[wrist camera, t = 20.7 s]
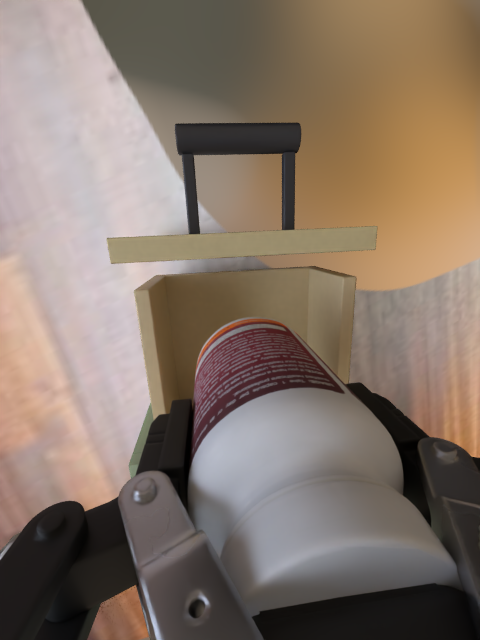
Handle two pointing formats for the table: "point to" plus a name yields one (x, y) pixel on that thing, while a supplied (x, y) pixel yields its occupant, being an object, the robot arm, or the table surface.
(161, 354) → the drawer
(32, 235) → the table surface
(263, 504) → the pill bottle
